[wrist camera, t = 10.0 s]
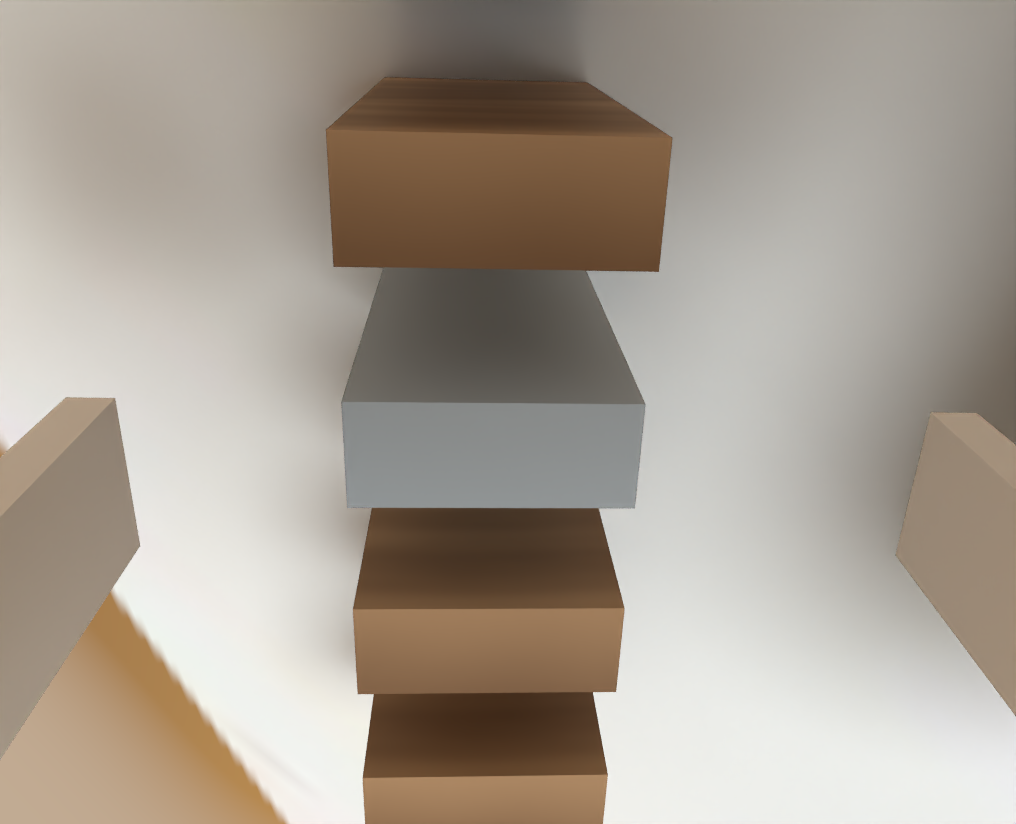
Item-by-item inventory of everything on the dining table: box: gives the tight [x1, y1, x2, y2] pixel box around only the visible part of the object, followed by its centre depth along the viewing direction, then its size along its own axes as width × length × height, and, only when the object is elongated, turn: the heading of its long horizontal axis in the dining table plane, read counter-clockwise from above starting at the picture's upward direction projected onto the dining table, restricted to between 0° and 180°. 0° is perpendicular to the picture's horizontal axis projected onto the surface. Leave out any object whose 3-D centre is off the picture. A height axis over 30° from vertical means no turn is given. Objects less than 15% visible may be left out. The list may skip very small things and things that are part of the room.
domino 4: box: [363, 692, 608, 824], centre depth 23 cm, size 2×5×10 cm, turn 89°
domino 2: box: [341, 267, 645, 508], centre depth 19 cm, size 2×5×10 cm, turn 88°
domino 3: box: [353, 508, 624, 694], centre depth 21 cm, size 2×5×10 cm, turn 88°
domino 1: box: [326, 77, 672, 272], centre depth 18 cm, size 2×5×10 cm, turn 88°
